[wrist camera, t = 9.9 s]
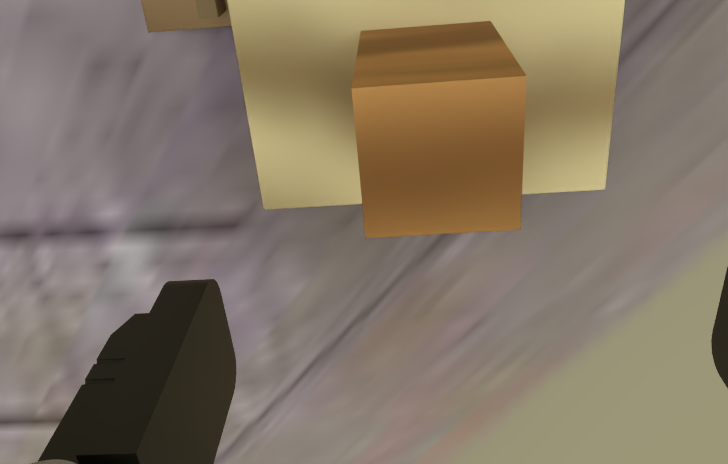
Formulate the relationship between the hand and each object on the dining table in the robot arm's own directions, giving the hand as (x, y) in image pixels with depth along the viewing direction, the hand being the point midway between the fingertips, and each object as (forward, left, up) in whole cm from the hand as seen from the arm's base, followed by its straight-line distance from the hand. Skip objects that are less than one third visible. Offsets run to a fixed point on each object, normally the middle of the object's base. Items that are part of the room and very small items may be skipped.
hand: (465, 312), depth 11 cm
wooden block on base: (0, 0, -13) cm, 13 cm away
